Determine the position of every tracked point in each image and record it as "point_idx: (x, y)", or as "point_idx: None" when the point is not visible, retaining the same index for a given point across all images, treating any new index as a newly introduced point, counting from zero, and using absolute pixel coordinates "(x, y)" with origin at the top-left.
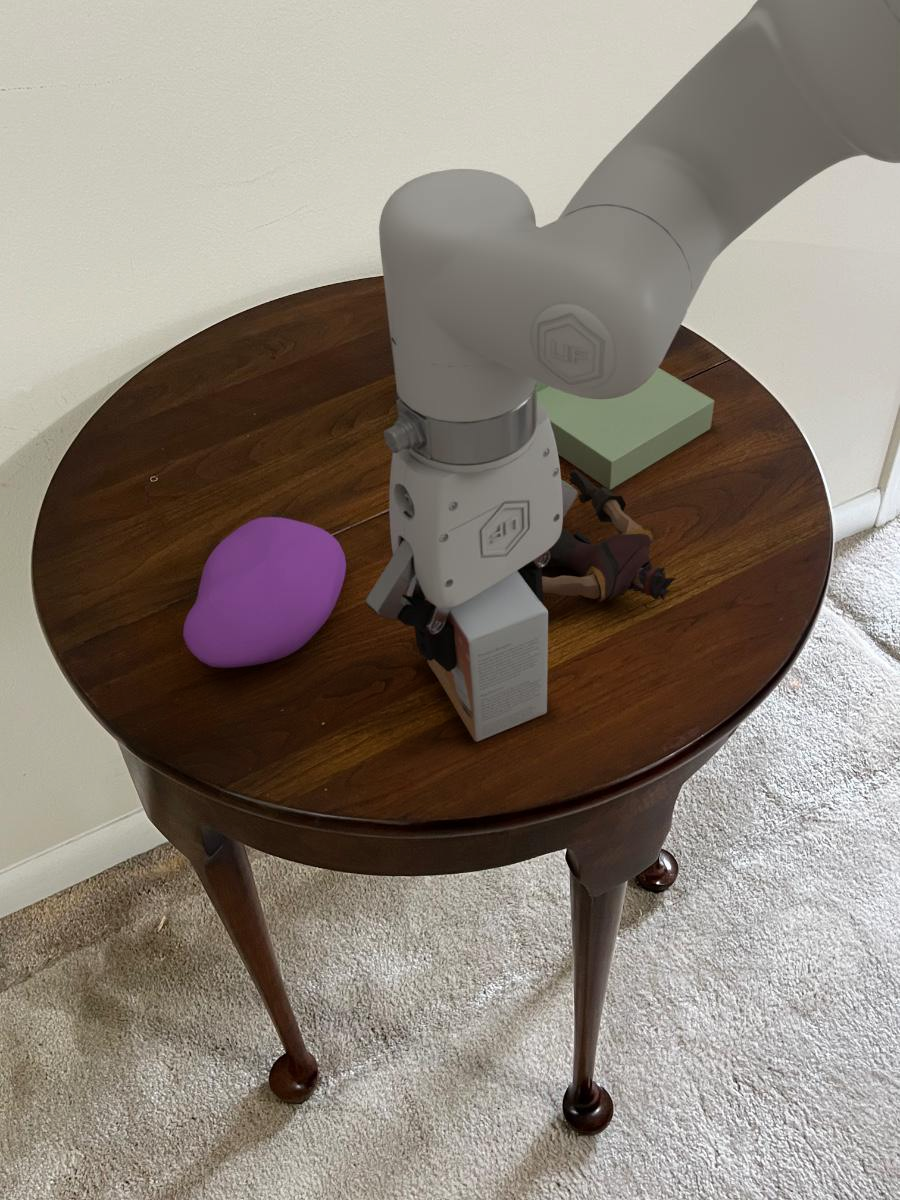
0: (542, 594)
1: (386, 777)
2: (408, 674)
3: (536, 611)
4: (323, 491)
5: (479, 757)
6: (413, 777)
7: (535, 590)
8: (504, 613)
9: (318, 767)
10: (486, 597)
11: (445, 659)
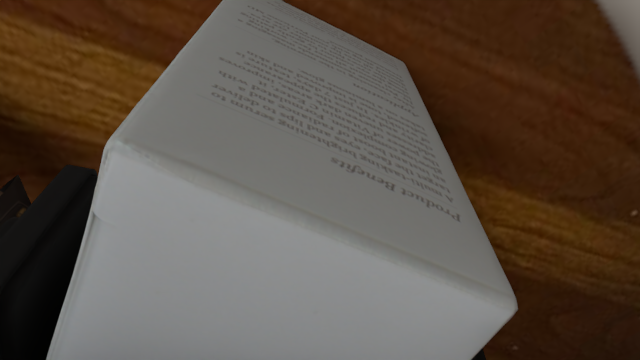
0: (5, 192)
1: (564, 149)
2: None
3: (161, 186)
4: None
5: (430, 32)
6: (542, 110)
7: (37, 240)
8: (284, 288)
9: (595, 248)
10: None
11: None
